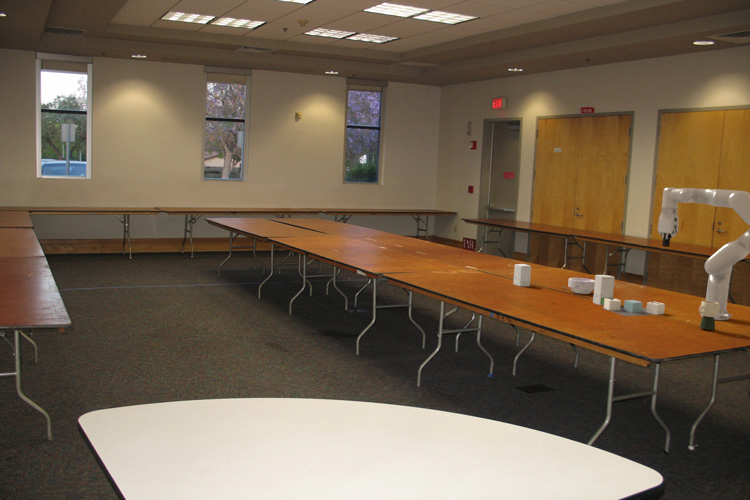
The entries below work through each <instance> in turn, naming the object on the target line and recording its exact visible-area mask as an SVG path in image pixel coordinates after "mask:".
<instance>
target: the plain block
mask: <svg viewBox="0 0 750 500" xmlns="http://www.w3.org/2000/svg"><path fill="white" fill-rule="evenodd" d="M623 303H624V305H623V307H624V310H625V311H629V312H632V313H634V312H641V311H642V308H643V301H639V300H634V299H630V300H629V299H628V300H626V299H625V300H624V302H623Z"/></svg>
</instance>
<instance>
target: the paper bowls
mask: <svg viewBox="0 0 750 500" xmlns="http://www.w3.org/2000/svg"><path fill="white" fill-rule="evenodd" d="M567 286H568V288H570V289H571V291H572V293H574V294H578V295H589V294H591V293H592V291H594V286H595V279H591V278H590V279H589V278H585V277H583V278H582V277H569V278H568V285H567Z"/></svg>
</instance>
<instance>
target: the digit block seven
mask: <svg viewBox="0 0 750 500" xmlns="http://www.w3.org/2000/svg"><path fill="white" fill-rule="evenodd" d="M621 303H622V301H621V300H620V299H618V298H614V297H613V298H605V299H604V305H603V308H605V309H604V310H606V309H607V310H606V311H609V310H620V307H622V304H621Z"/></svg>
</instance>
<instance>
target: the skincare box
mask: <svg viewBox="0 0 750 500" xmlns="http://www.w3.org/2000/svg"><path fill="white" fill-rule="evenodd" d="M594 276H595V277H594V280H595V286H594V290H593V298H592V303H593V304H595V305H598V306H604V299H605V298H614V290H615V279H616V278H615V276H613V275H606V274H595V275H594Z"/></svg>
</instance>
